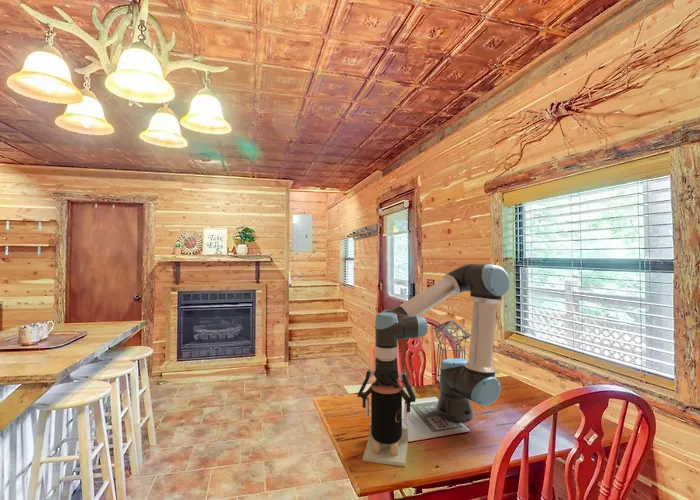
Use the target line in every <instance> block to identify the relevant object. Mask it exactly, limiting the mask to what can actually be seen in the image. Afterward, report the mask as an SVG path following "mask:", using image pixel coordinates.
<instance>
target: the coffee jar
mask: <svg viewBox="0 0 700 500" xmlns="http://www.w3.org/2000/svg"><path fill="white" fill-rule="evenodd" d="M374 382H375V381H373V382H372V383H371V385H370V386H371V388H372V390H373V391H372V392H371V393H370V394H371V395H370V396H371V397H370V399H371V400H370V402H371V404H370V410H371V411H370V413H371V414H370V415H371V416H370V417H371V419H370V420H371V422H370V423H371V434H372V436H373V438H374V439H375V440H376V441H377V442H379V443H383V444H393V443H396V442H398V441H399V439H400V438H401V436H402V426H403V397H402V396H401V395H400V391H401V389H402V388H403V386H402V383H400V382H398V383H399V384H400V387H399V388H394V386H393V385H390V386H388V385H381V384H380V383H379V384H378V385H377V386H373V383H374Z"/></svg>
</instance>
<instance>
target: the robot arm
mask: <svg viewBox="0 0 700 500" xmlns="http://www.w3.org/2000/svg"><path fill="white" fill-rule="evenodd" d="M510 283H511V282H510V278H509V274H508V273H507V272H506V270H505V269H504V268H503V267H501V266H499V265H495V264H492V263H491V264H486V263H485V264H484V263H483V264H482V263H479V264H478V263H467V264H464V265H462V266H458V267H456V268H455V269H453V270H451V271H450V272H448V273H445V274H444V275H443V276H442V279H441V280H439V281H437V282H436V283H434V284H433V285H430V286H429V287H428V288H426V289H425V290H423V291H421V292H420V293H418V294H416V295H415V296H413V297H411V298H410V299H408V300H406V301H404V302H403V303H401V304H399V305H398V306H396V307H395V308H393V309H384V310H382V311H381V312H379V313H377V314H376V315H375V323H374V328H375V329H374V330H375V331H374V333H375V351H374V355H375V362H374V363H375V364H374V365H375V366H374V367H375V368H374V369H375V370H371V369H369V368H368V369H367V370H366V373H365V377H364V378H365V379H364V381H363V383H362V384H361V386H360V388H359V390H358V392H357V397H358V398H362V408H363V409H365V419H369V416H370V397H369V395H370V394H371V392H372V391H373V390H372V388H371V385H370V387H368V389H367V390H365V389H366V386H367V384H368V382H369V380H370V378H373V377H374V378H375V380H374V381H373V382H374V383H373V382H372V383H373V386H377V385H378V384H379V383H380V384H381V385H388V386H390V385H393V386H394V388H399V387H400V384H401V383H400V382H399V380H398V378H399V379H400V380H401V381H402V382H403V385H404V387H405V390H406V391H407V392H406V391H405V390H404V388H403V387H402V389H401V391H400V395H401V396H402V400H404V402H403V403H404V405H403V406H404V407H403V409H404V410H403V411H404V412H403V413H404V417H403V418H404V419H403V421H404V423H405V424H407V423H408V413H411V403H415V402H416V395H415V392H414V391H413V389H412V386H411V384H410V382H409V380H408V377H407V373H406V371H404V372H403V371H402V372H399V371H398V359H397V357H398V340H407V339H418V338H421V337H422V338H423V337H425V336H426V335H427V333H428V321H427V319H426V318H425V317H424V316H423V314H424V313H426V312H428V311H429V310H431V309H432V308H434V307H436V306H437V305H438V304H440V303H442V302H444V301H445V300H447V299H448V298H449V297H452V296H457V295H459V294H460V293H463V292H470V295H469V297H470V299H472V301H473V307H472V317H471V318H472V319H471V329H470V334H471V336H470V341H469V351H468V352H469V353H468V360H467V359H466V358H465V359H464V358H463V359H462V358H460V359H459V357H457V358H456V357H455V358H446V359H445V358H444V359H443V360H442V362H441V361H440V367H439V375H440V376H439V379H440V380H439V381H440V384H441V388H440V395H439V396H438V397H439V398H438V400H437V403H436V407H435V408H436V414H437V415H438V416H439V417H440V418H443V419H444V420H448V421H450V422H456V423H457V422H460V423H461V422H468V421H470V420H472V419H473V417H474V410H473V406H472V403H471V401H472V402H473V404H475V405H476V404H477V405H480V406H481V407H490V406H491V405H493V404H494V403H495V402H496V401H497V400H498V399H499V397H500V394H501V391H502V390H501V389H502V386H501V382H500V381H499V379H497V377H496V369H495V368H494V366H493V363H492V362H493V352H494V342H495V341H494V340H495V327H496V317H497V304H499V303H500V302H501V301H502V296H504V295H506V293H507V291H509V289H510ZM421 315H422V316H421ZM399 383H400V384H399ZM440 384H439V385H440ZM364 390H365V392H364Z"/></svg>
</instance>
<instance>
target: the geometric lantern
mask: <svg viewBox="0 0 700 500" xmlns="http://www.w3.org/2000/svg"><path fill="white" fill-rule="evenodd" d="M431 329H433V330H434V332H435V338H437V340H438V342H439V343H437V352H436V353H437V354H436V365H435V375H434V376H435V378H436V381H437V382H438V384H439V389H441V384H440V367H441V362H442V361H443V360H445V359H447V352H448V351H451V352H452V351H453V352H455V358H459V359H465V360H466V346H464V347H463V346H462V345H461V343H462V341H463V340H464V344H466V342H467V340H468V339H469V338H471V333H469V332H468V331H467V330H465V328H463V327H462V326H461V325H460V324H458V323H457V322H456V321H454V320H453V319H452V320H451V319H450V320H448V321H445V322H444V323H441V324H438V325H436V326H434V327H432V328H431ZM447 330H450V332H449V333H447ZM453 330H454V331H453ZM458 330H460V331H461V333H462V335H458V333H457V331H458ZM454 333H455V336H453V334H454ZM441 337H442V338H441ZM449 337H450V338H449ZM440 338H441V341H440ZM444 338H446V339H447V340H449V341H450V343H449V342H447V343H446V342H444V343H443V339H444ZM452 338H453V339H452ZM458 338H460V339H459V340H458ZM453 340H454V341H453ZM442 345H448V346H447V347H446V349H445V348H443V347H442ZM451 345H455V349H448V348H449V347H450V346H451ZM458 356H459V357H458ZM443 357H444V358H443Z"/></svg>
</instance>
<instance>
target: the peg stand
mask: <svg viewBox="0 0 700 500" xmlns="http://www.w3.org/2000/svg"><path fill="white" fill-rule="evenodd" d="M368 426H369V427H368V428H369V429H368V430H369V431H368V435H369V436H368V441H367V443H366V445H365V446H366V447H365V450H364V452H363V455H362V461H363V462H369V463H375V464H376V463H377V464H382V465H383V464H384V465H389V466H390V465H392V466H399V467H406V463H407V462H406V461H407V455H408V453H407V452H408V447H409V446H408V445H409V427H408V426H403V425H402V436H401V438H400V439H399V441H398V442H396V443H393V444H383V443H379V442H377V441H376V440H375V439H374V438H373V436H372V434H371V422H369V424H368Z"/></svg>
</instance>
